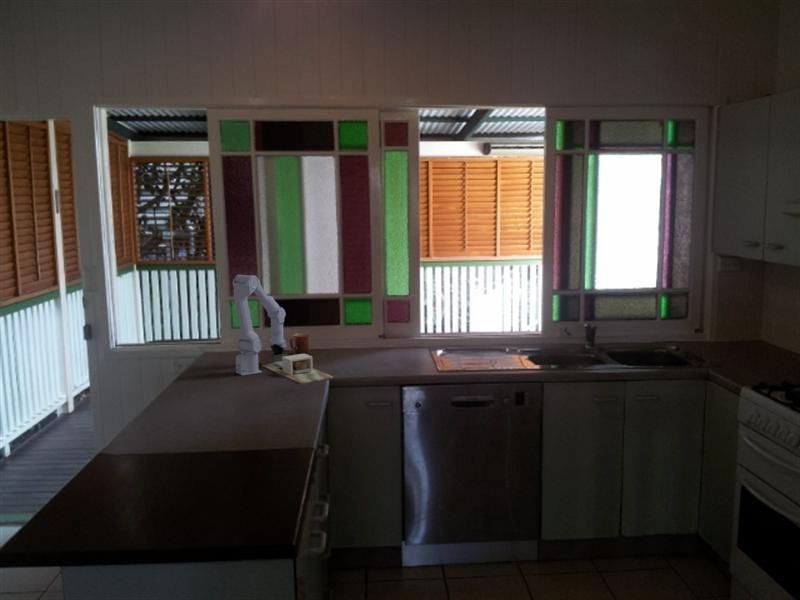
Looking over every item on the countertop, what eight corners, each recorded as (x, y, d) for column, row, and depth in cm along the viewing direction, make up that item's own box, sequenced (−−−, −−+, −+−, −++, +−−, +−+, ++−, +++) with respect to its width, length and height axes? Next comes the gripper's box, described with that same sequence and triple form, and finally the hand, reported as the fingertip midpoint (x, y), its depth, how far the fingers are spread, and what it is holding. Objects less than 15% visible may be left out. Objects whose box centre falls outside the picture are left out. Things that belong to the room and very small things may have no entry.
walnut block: (296, 370, 278) (296, 362, 277) (291, 368, 281) (291, 359, 281) (306, 369, 280) (306, 360, 280) (301, 367, 284) (301, 358, 284)
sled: (295, 373, 276) (295, 364, 276) (273, 363, 295) (273, 355, 294) (309, 371, 280) (309, 362, 280) (286, 361, 299) (286, 353, 298)
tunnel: (290, 374, 276) (290, 360, 275) (282, 371, 282) (282, 356, 281) (312, 371, 282) (312, 356, 281) (304, 367, 289) (304, 353, 288)
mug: (302, 352, 325) (301, 332, 323) (314, 354, 319) (313, 334, 318) (284, 356, 315) (284, 336, 314) (297, 358, 310) (296, 338, 308)
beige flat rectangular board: (300, 384, 263) (300, 382, 263) (261, 366, 294) (261, 364, 294) (333, 378, 273) (333, 376, 273) (292, 361, 304) (292, 359, 304)
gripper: (292, 333, 293) (292, 361, 295) (278, 328, 304) (279, 356, 306) (278, 335, 289) (278, 363, 291) (264, 330, 300) (265, 358, 302)
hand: (278, 360), depth 298 cm, fingers closed
